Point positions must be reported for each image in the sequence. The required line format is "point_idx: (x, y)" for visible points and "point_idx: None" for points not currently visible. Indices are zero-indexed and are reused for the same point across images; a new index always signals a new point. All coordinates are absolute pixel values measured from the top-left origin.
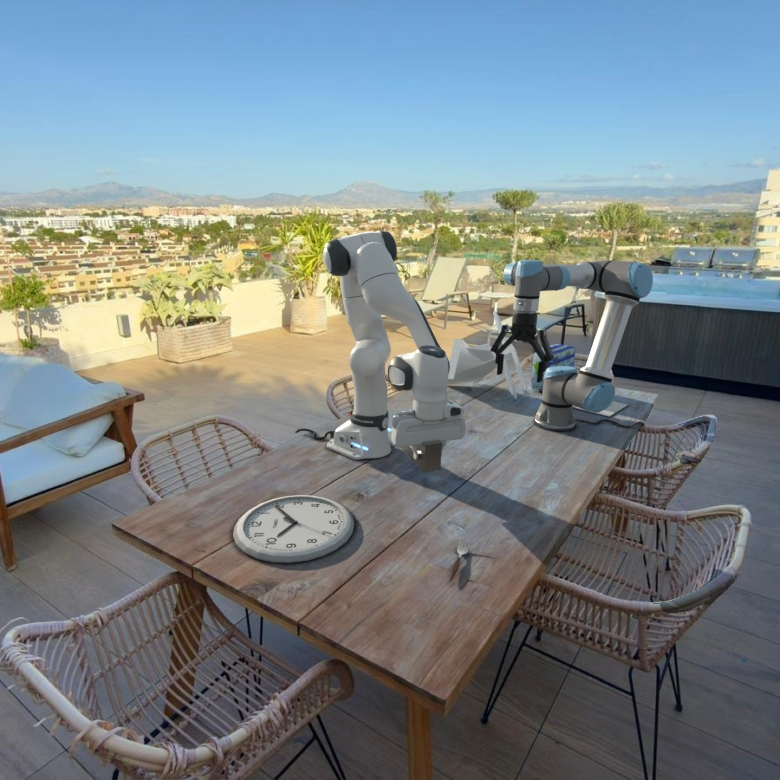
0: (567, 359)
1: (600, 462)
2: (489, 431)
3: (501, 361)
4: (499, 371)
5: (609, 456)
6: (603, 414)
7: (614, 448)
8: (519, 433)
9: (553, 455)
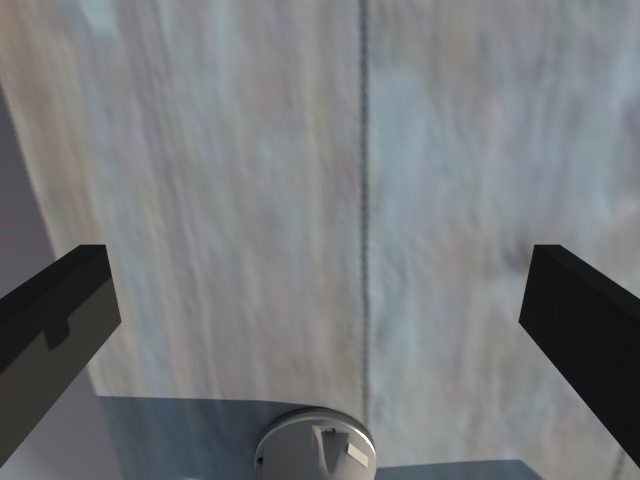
0: None
1: None
2: (467, 294)
3: (625, 373)
4: (553, 267)
5: None
6: None
7: (106, 392)
8: (375, 335)
9: (214, 242)
